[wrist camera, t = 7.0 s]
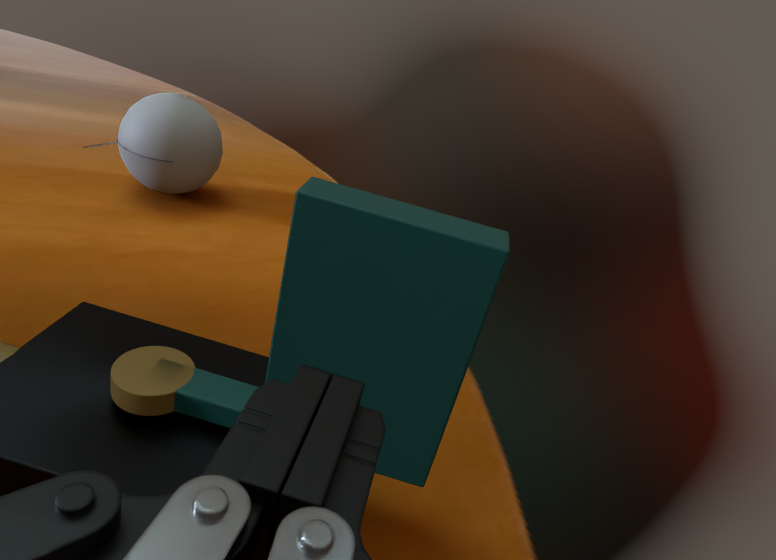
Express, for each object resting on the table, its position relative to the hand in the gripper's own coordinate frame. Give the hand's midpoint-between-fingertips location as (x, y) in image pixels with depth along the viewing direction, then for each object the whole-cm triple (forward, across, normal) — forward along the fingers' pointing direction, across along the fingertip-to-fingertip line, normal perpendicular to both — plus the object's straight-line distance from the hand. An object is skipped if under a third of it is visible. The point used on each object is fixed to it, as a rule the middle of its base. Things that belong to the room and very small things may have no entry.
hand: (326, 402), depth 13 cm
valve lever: (+6, +3, +7) cm, 10 cm away
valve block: (+6, +9, +10) cm, 15 cm away
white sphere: (+29, +20, +10) cm, 36 cm away
